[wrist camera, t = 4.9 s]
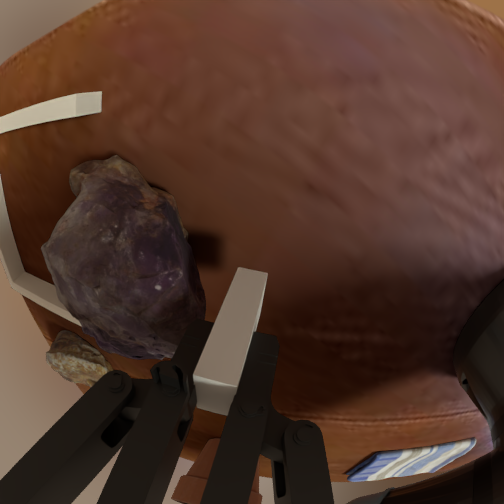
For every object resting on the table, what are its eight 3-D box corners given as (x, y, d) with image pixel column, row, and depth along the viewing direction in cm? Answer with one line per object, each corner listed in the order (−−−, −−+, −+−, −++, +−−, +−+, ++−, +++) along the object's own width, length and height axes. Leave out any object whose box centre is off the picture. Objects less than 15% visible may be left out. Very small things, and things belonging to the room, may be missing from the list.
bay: (101, 91, 14) (76, 93, 12) (129, 325, 24) (117, 342, 22) (-9, 122, 16) (-26, 128, 14) (23, 278, 27) (11, 288, 25)
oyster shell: (59, 351, 36) (41, 374, 31) (61, 312, 28) (35, 341, 23) (109, 391, 37) (94, 416, 32) (128, 365, 30) (107, 400, 25)
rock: (127, 276, 23) (237, 303, 21) (74, 354, 16) (199, 407, 15) (91, 147, 15) (236, 148, 14) (-11, 219, 9) (140, 258, 7)
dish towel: (433, 464, 36) (434, 473, 34) (344, 472, 40) (343, 483, 38) (479, 433, 28) (481, 444, 25) (378, 447, 31) (378, 462, 29)
